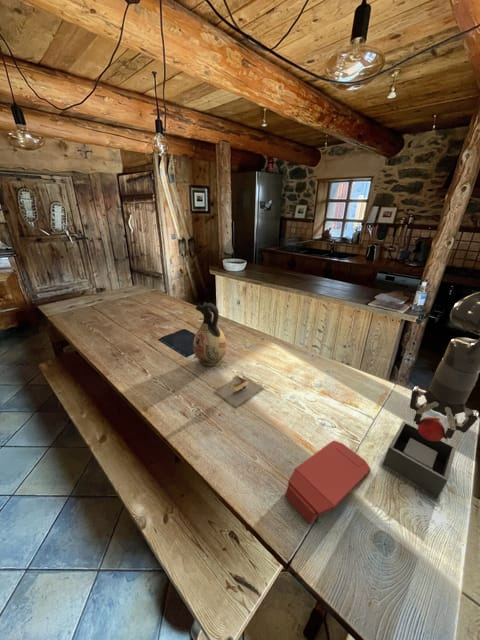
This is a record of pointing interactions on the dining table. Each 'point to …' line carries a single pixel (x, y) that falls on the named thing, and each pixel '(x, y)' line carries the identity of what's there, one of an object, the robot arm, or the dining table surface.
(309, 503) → the carton
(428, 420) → the onion
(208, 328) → the ceramic jug
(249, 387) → the architectural model
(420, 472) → the crate
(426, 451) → the block
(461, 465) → the dining table surface
